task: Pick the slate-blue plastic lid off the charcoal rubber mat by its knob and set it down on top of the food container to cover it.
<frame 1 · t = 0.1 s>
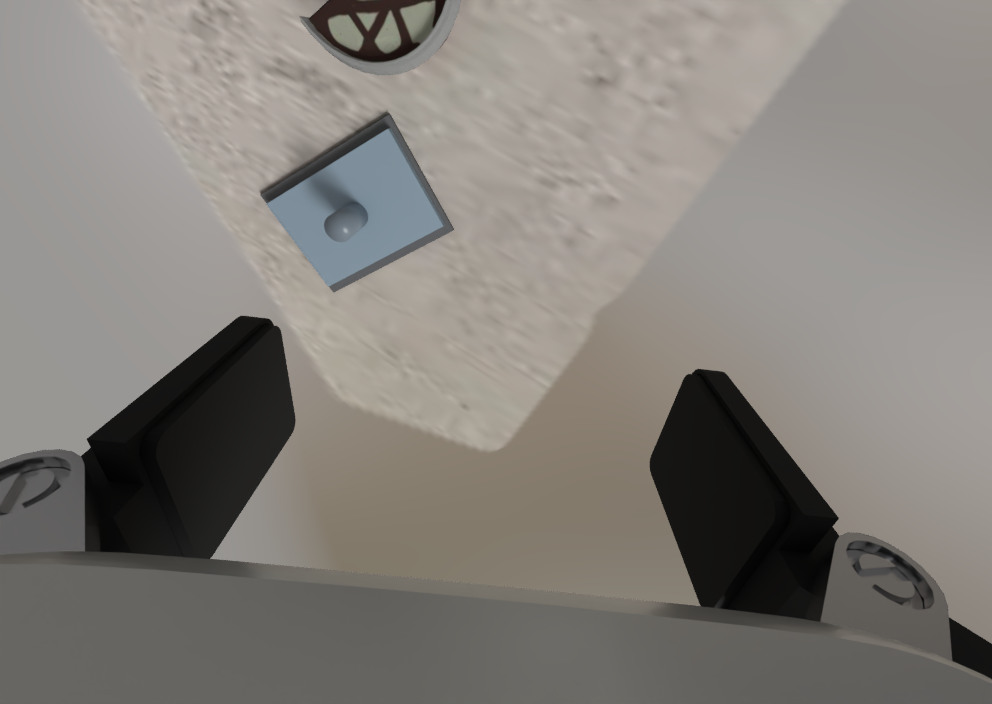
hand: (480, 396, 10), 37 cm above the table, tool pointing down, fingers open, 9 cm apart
mat: (359, 212, 44), on the table
lid: (358, 212, 44), resting on mat
food container: (421, 30, 37), on the table
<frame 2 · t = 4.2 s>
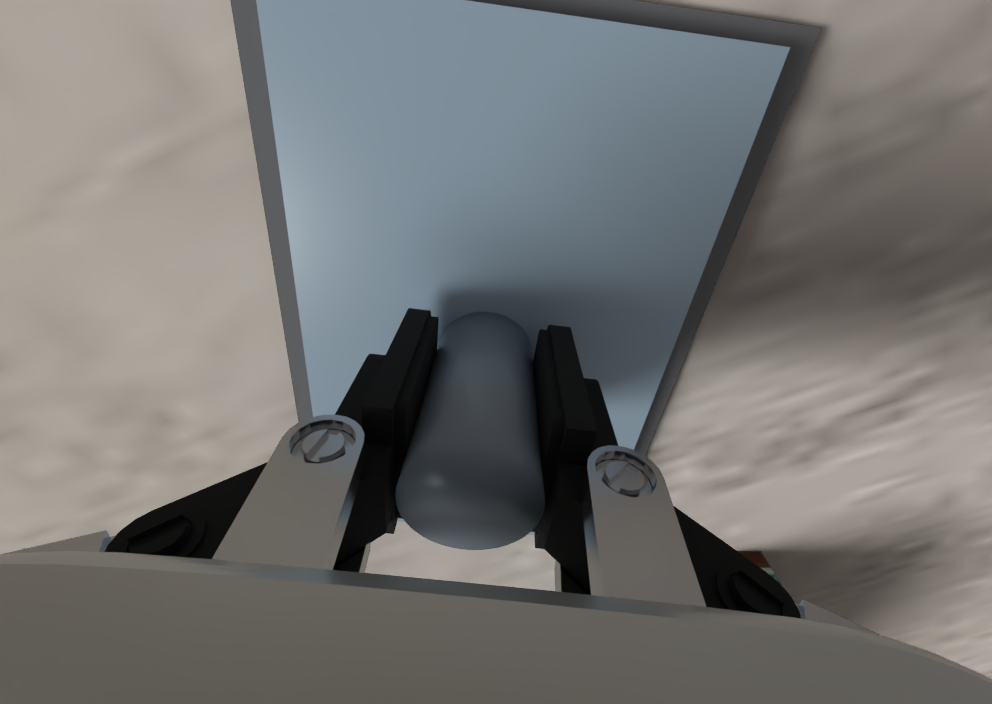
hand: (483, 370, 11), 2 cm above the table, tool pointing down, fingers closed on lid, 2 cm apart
mat: (486, 329, 13), on the table
lid: (486, 336, 12), resting on mat, touching gripper
food container: (660, 603, 21), on the table
when the fingers open (13 cm above the table, at t = 7.5 s): lid drops 1 cm, resting on food container.
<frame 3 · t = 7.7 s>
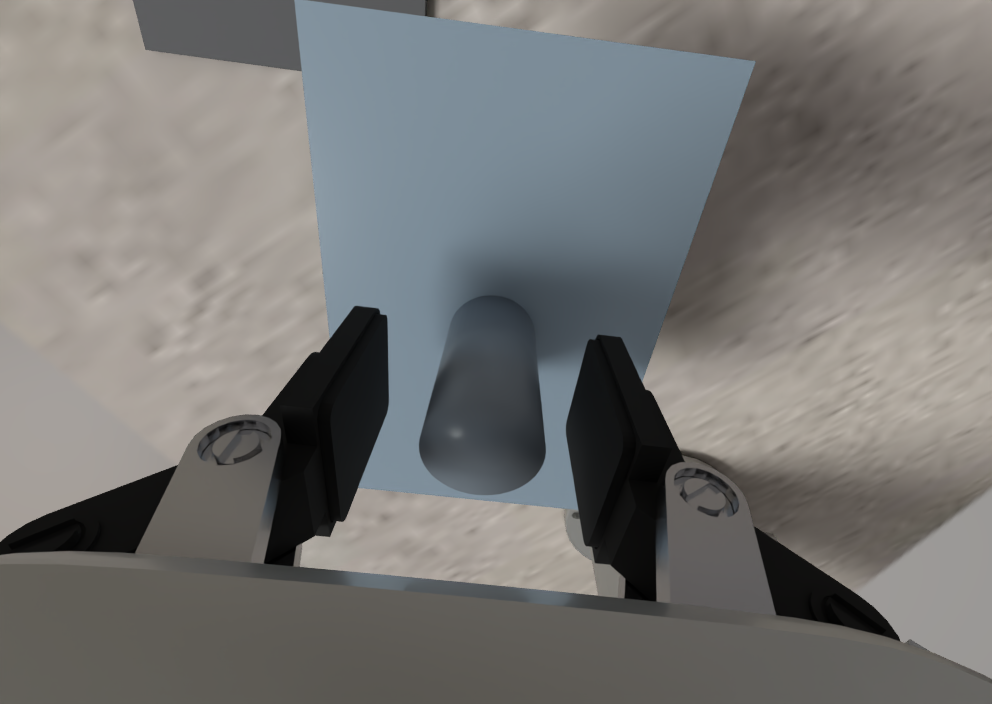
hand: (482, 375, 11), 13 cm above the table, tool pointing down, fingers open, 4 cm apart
lid: (493, 320, 14), point 10 cm above the table, touching food container
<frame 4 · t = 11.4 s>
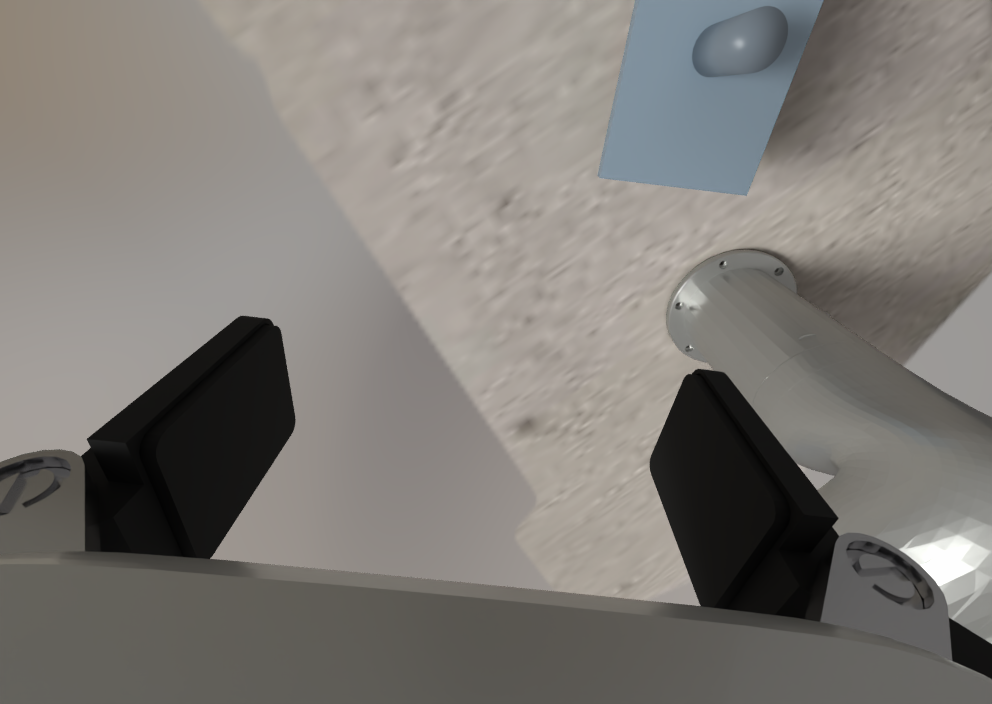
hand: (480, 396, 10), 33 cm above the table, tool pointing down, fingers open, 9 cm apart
lid: (708, 52, 25), point 10 cm above the table, touching food container
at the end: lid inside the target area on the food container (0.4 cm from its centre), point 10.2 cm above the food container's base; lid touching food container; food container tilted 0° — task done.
